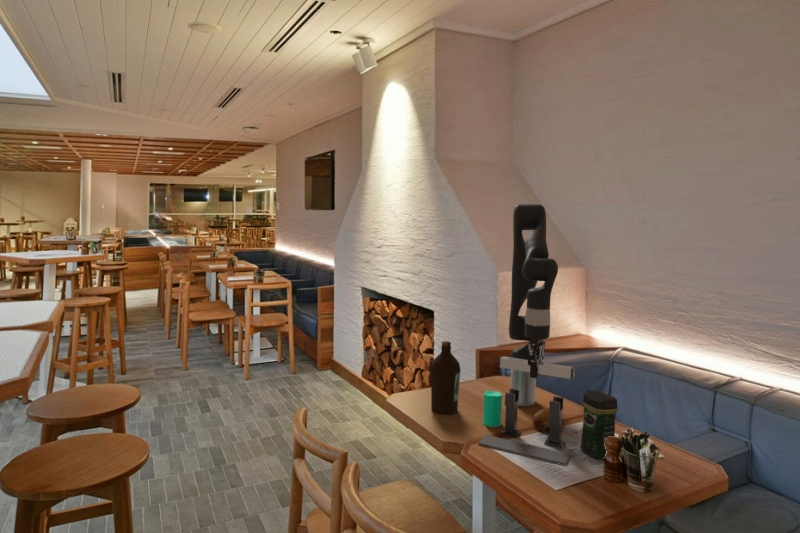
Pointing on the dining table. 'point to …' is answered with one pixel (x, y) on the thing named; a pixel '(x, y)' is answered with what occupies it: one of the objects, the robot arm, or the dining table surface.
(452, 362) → the olive oil
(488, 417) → the candle
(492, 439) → the mat
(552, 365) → the rail
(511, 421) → the post pair
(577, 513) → the dining table surface
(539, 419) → the bread roll
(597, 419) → the coffee jar
